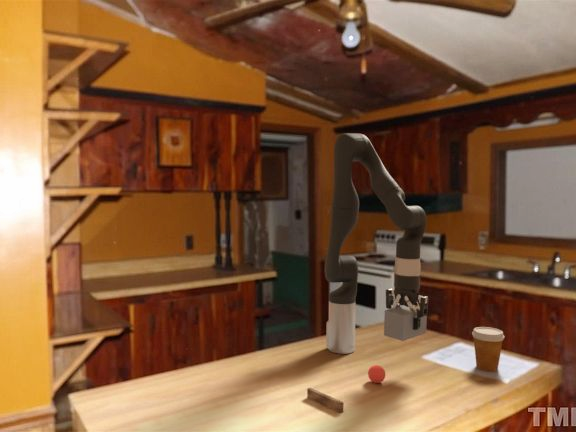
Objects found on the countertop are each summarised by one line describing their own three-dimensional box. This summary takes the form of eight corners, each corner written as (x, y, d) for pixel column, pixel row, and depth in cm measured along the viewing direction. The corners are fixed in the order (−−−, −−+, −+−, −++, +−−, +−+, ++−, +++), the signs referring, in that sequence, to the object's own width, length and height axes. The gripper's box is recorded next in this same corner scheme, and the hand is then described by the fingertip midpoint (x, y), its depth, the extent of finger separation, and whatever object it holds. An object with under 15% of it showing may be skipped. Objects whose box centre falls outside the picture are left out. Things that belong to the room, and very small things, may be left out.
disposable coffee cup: (502, 364, 158) (503, 328, 157) (504, 375, 149) (506, 336, 148) (470, 361, 161) (471, 325, 160) (471, 371, 152) (472, 333, 151)
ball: (364, 382, 142) (364, 365, 142) (374, 377, 146) (375, 361, 146) (378, 387, 139) (378, 370, 138) (388, 382, 142) (389, 366, 142)
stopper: (307, 397, 132) (307, 388, 131) (309, 396, 132) (310, 387, 132) (340, 413, 123) (340, 403, 123) (343, 411, 123) (343, 402, 123)
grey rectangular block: (383, 335, 146) (384, 310, 145) (407, 327, 154) (408, 303, 153) (402, 341, 141) (403, 315, 140) (426, 332, 149) (427, 308, 148)
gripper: (380, 270, 148) (378, 323, 150) (421, 278, 138) (418, 335, 139) (395, 267, 153) (393, 318, 155) (435, 274, 143) (433, 330, 144)
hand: (405, 326), depth 147 cm, fingers closed on grey rectangular block, 7 cm apart
